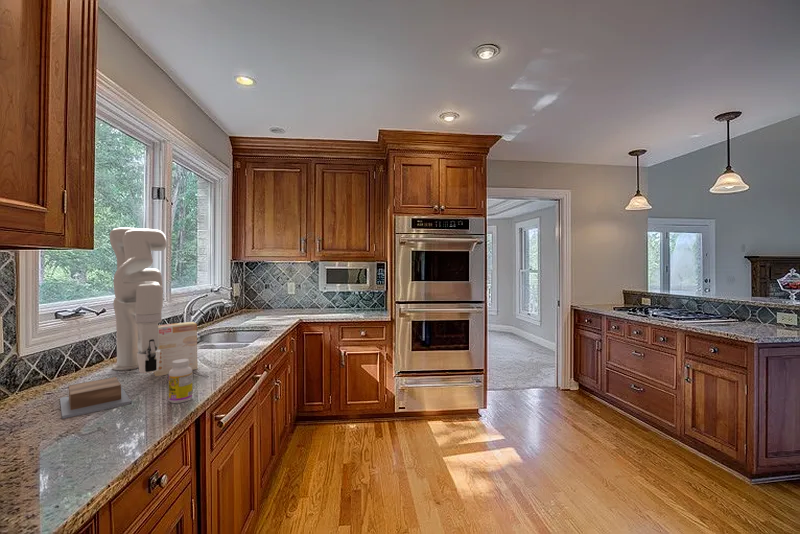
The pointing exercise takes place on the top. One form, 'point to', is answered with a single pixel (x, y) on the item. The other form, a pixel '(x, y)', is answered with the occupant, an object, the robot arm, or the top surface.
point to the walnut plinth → (94, 393)
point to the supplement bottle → (180, 382)
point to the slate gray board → (67, 412)
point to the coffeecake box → (177, 345)
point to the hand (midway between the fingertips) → (149, 368)
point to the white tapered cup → (142, 359)
